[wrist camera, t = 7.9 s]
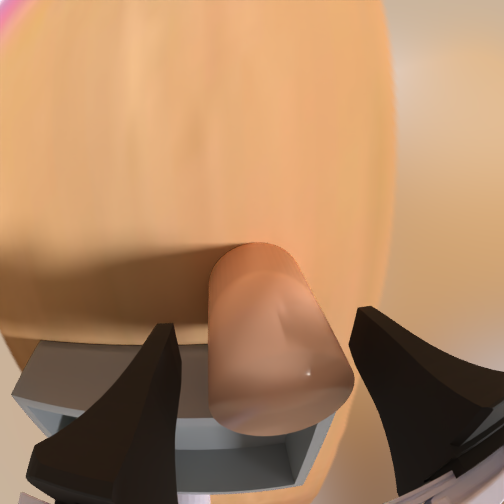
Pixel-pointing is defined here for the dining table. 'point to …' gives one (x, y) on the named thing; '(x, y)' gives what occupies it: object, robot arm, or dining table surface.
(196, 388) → the tote
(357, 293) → the dining table surface
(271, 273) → the terracotta cylinder
